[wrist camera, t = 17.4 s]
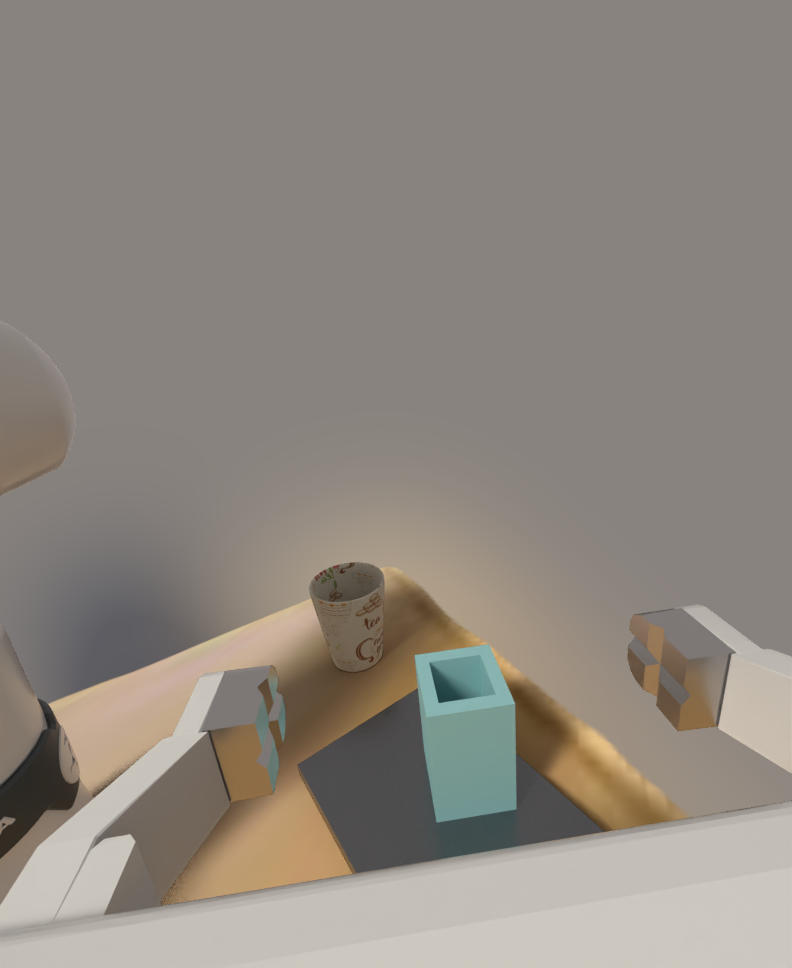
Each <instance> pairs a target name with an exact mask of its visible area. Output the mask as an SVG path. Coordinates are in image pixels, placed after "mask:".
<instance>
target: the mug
mask: <svg viewBox="0 0 792 968" xmlns="http://www.w3.org/2000/svg"><path fill="white" fill-rule="evenodd" d="M309 590H310V596H311V599H312V602H313V605H314V608H315V611H316V614H317V616H318V619H319V622H320V625H321V628H322V631H323V634H324V637H325V640H326V643H327V646H328V649H329V651H330V654H331V657H332V660H333V662H334V664H335V665H336V666H337V667H338V668H339V669H341V670H344V671H348V672H358V671H363V670H366V669H368V668H370V667H372V666H374V665H375V664H376V663H377V662H378V661H379V660H380V658H381V656H382V653H383V629H384V575H383V573H382V571H381V570H380V569H379V568H377V567H375V566H373V565H370V564H367V563H359V562H354V563H344V564H339V565H336V566H333V567H330V568H328V569H326V570H324V571H322V572H321V573H319V574H318V575H317V576H315V577H314V579H313V580H312V581H311V583H310V587H309Z"/></svg>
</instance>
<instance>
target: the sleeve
mask: <svg viewBox="0 0 792 968" xmlns="http://www.w3.org/2000/svg"><path fill="white" fill-rule="evenodd" d="M415 665H416V675H417V685H418V694H419V704H420V714H421V724H422V734H423V744H424V752H425V758H426V764H427V769H428V775H429V781H430V787H431V793H432V799H433V805H434V810H435V816H436V822H444V821H450V820H456V819H462V818H468V817H474V816H480V815H486V814H492V813H498V812H504V811H510V810H516V724H515V702H514V700H513V698H512V695H511V693H510V691H509V689H508V686H507V684H506V682H505V680H504V677H503V675H502V673H501V671H500V668H499V666H498V664H497V662H496V659H495V657H494V655H493V653H492V650H491V648H490V646H489V645H482V646H475V647H468V648H461V649H454V650H447V651H440V652H433V653H426V654H419V655H415Z"/></svg>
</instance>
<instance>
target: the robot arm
mask: <svg viewBox="0 0 792 968" xmlns="http://www.w3.org/2000/svg"><path fill="white" fill-rule="evenodd" d="M74 432H75V408H74V403H73V399H72V396H71V393H70V390H69V387H68V385H67V383H66V381H65V379H64V377H63V376H62V374H61V372H60V371H59V370H58V368H57V367H56V365H55V364H54V363H53V361H52V360H51V359H50V358H49V357H48V355H47V354H45V352H43V350H42V349H41V348H40V347H39V346H38V345H36V344H35V343H34V342H33V341H31V340H30V339H29V338H28V337H27V336H25V335H24V334H23V333H21V332H20V331H18V330H17V329H15V328H14V327H12V326H11V325H9V324H7V323H5V322H3V321H1V320H0V496H1V495H4V494H6V493H8V492H10V491H12V490H15V489H17V488H19V487H21V486H23V485H25V484H27V483H29V482H31V481H33V480H36V479H37V478H39V477H42V476H43V475H46V474H48V473H50V472H52V471H54V470H56V469H57V468H59V467H60V466H61V464H62V463H63V462H64V460H65V458H66V456H67V454H68V452H69V450H70V447H71V445H72V441H73V437H74ZM630 631H631V632H632V634H633V635H634V636H635V638H634V639H633V640H632V642H631V643H630V644H629V645H628V662H629V666H630V670H631V672H632V674H633V676H634V678H635V680H636V681H637V682H638V684H639V685H640V686H641V687H642V688H643V690H645V691H647V692H649V693H651V694H653V695H655V696H657V700H656V701H657V703H656V705H657V707H658V708H659V709H660V710H661V712H662V713H663V714H664V715H665V716H666V718H667V719H668V720H669V721H670V722H671V724H672V725H673V726H674V727H675V728H676V730H677V731H683V730H691V729H700V728H708V727H715V726H718V729H720V730H722V731H723V732H725V733H726V734H728V735H730V736H731V737H733V738H734V739H736V740H738V741H739V742H741V743H743V744H744V745H746V746H748V747H749V748H751V749H752V750H754V751H756V752H757V753H759V754H761V755H762V756H764V757H765V758H767V759H769V760H770V761H772V762H774V763H775V764H777V765H778V766H780V767H782V768H783V769H785V770H787V771H788V772H790V773H791V774H792V657H791V656H789V655H786V654H783V653H780V652H777V651H774V650H771V649H764V650H762V649H761V648H760V647H758V646H757V645H756V644H754V643H753V642H752V641H750V640H749V639H748V638H746V637H745V636H744V635H742V634H741V633H740V632H738V631H737V630H736V629H734V628H733V627H732V626H730V625H729V624H728V623H726V622H725V621H724V620H722V619H721V618H720V617H719V616H717V615H716V614H715V613H713V612H712V611H711V610H709V609H708V608H707V607H705V606H702V605H699V604H696V605H689V606H683V607H678V608H675V609H668V610H661V611H655V612H648V613H641V614H634V615H633V617H632V619H631V620H630ZM278 681H279V679H278V675H277V671H276V668H275V667H274V666H273V665H270V666H262V667H253V668H245V669H236V670H228V671H222V672H214V673H206V674H204V675H203V676H201V677H200V678H199V680H198V682H197V684H196V686H195V689H194V691H193V693H192V695H191V697H190V699H189V701H188V703H187V706H186V708H185V710H184V712H183V714H182V716H181V718H180V720H179V723H178V725H177V727H176V729H175V731H174V733H173V735H172V737H167V738H164V739H163V740H161V741H160V742H159V743H158V744H157V745H156V746H154V747H153V748H152V749H151V750H150V751H149V752H147V753H146V754H145V755H144V756H143V757H142V758H140V759H139V760H138V761H137V762H136V763H135V764H133V765H132V766H131V767H130V768H129V769H128V770H126V771H125V772H124V773H123V774H122V775H121V776H119V777H118V778H117V779H116V780H115V781H114V782H112V783H111V784H110V785H109V786H108V787H107V788H105V789H104V790H103V791H102V792H101V793H100V794H98V795H97V796H96V797H95V798H94V797H93V796H92V795H91V794H90V792H89V791H88V790H87V788H86V787H85V786H84V784H83V783H82V781H81V780H80V777H79V773H80V771H79V765H78V761H77V758H76V756H75V753H74V751H73V748H72V746H71V743H70V741H69V739H68V737H67V734H66V732H65V730H64V728H63V726H60V725H59V723H58V721H57V719H56V717H55V715H54V713H53V712H52V710H51V708H50V706H49V705H48V704H47V703H46V702H44V701H43V700H41V699H38V698H36V695H35V693H34V691H33V689H32V687H31V684H30V682H29V680H28V678H27V675H26V674H25V671H24V669H23V667H22V664H21V662H20V660H19V658H18V656H17V653H16V651H15V649H14V647H13V645H12V642H11V640H10V638H9V636H8V634H7V632H6V629H5V627H4V625H3V624H2V623H1V622H0V968H792V801H787V802H781V803H775V804H769V805H763V806H757V807H751V808H745V809H739V810H733V811H727V812H721V813H715V814H709V815H703V816H697V817H691V818H685V819H679V820H673V821H667V822H661V823H655V824H649V825H643V826H637V827H631V828H625V829H619V830H613V831H607V832H601V833H595V834H589V835H583V836H577V837H571V838H565V839H559V840H553V841H547V842H541V843H535V844H529V845H523V846H517V847H511V848H505V849H499V850H493V851H487V852H481V853H475V854H469V855H463V856H457V857H451V858H445V859H439V860H433V861H427V862H421V863H415V864H409V865H403V866H397V867H391V868H385V869H379V870H373V871H367V872H361V873H355V874H349V875H343V876H337V877H331V878H325V879H319V880H313V881H307V882H301V883H295V884H289V885H283V886H277V887H271V888H265V889H259V890H253V891H247V892H241V893H235V894H229V895H223V896H217V897H211V898H205V899H199V900H193V901H187V902H181V903H175V904H169V905H163V906H162V904H161V900H162V899H163V897H164V896H165V894H166V893H167V892H168V890H169V889H170V888H171V886H172V885H173V883H174V882H175V881H176V879H177V878H178V877H179V875H180V874H181V872H182V871H183V870H184V868H185V867H186V866H187V864H188V863H189V861H190V860H191V859H192V857H193V856H194V855H195V853H196V852H197V850H198V849H199V848H200V846H201V845H202V844H203V842H204V841H205V839H206V838H207V837H208V835H209V834H210V833H211V831H212V830H213V828H214V827H215V826H216V824H217V823H218V822H219V820H220V819H221V817H222V816H223V815H224V813H225V812H226V810H227V809H228V808H229V806H230V802H235V801H240V800H245V799H251V798H256V797H261V796H267V795H272V794H274V790H275V785H276V779H277V774H278V769H279V758H278V754H277V750H278V749H279V748H280V746H281V745H282V744H283V741H284V735H285V720H286V715H285V705H284V701H283V696H282V695H281V694H279V693H278V692H277V691H276V690H277V686H278Z"/></svg>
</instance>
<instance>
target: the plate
mask: <svg viewBox="0 0 792 968" xmlns="http://www.w3.org/2000/svg"><path fill="white" fill-rule="evenodd" d="M298 769H299V773H300V776H301V778H302V780H303V782H304V784H305V786H306V787H307V789H308V791H309V793H310V795H311V797H312V799H313V800H314V802H315V804H316V806H317V808H318V810H319V812H320V814H321V815H322V817H323V819H324V821H325V823H326V825H327V827H328V829H329V830H330V832H331V834H332V836H333V838H334V840H335V842H336V843H337V845H338V847H339V849H340V851H341V853H342V855H343V857H344V858H345V860H346V862H347V864H348V866H349V868H350V870H351V872H352V873H353V874H355V873H361V872H367V871H373V870H379V869H385V868H391V867H397V866H403V865H409V864H415V863H421V862H427V861H433V860H439V859H445V858H451V857H457V856H463V855H469V854H475V853H481V852H487V851H493V850H499V849H505V848H511V847H517V846H523V845H529V844H535V843H541V842H547V841H553V840H559V839H565V838H571V837H577V836H583V835H589V834H595V833H601V832H604V831H603V830H602V829H601V828H600V827H599V826H597V825H596V824H595V823H594V822H593V821H592V820H591V819H590V818H588V817H587V816H586V815H585V814H584V813H583V812H582V811H581V810H579V809H578V808H577V807H576V806H575V805H574V804H573V803H572V802H570V801H569V800H568V799H567V798H566V797H565V796H564V795H563V794H561V793H560V792H559V791H558V790H557V789H556V788H555V787H554V786H552V785H551V784H550V783H549V782H548V781H547V780H546V779H544V778H543V777H542V776H541V775H540V774H539V773H538V772H537V771H535V770H534V769H533V768H532V767H531V766H530V765H529V764H528V763H526V762H525V761H524V760H523V759H522V758H521V757H520V756H519V755H517V754H516V810H510V811H504V812H498V813H492V814H486V815H480V816H474V817H468V818H462V819H456V820H450V821H444V822H436V816H435V810H434V805H433V799H432V793H431V787H430V781H429V775H428V769H427V764H426V758H425V752H424V744H423V734H422V724H421V714H420V704H419V694H418V688H417V689H416V690H414V691H413V692H411V693H409V694H408V695H406V696H405V697H403V698H402V699H400V700H398V701H397V702H395V703H394V704H392V705H391V706H389V707H388V708H386V709H384V710H383V711H381V712H380V713H378V714H377V715H375V716H373V717H372V718H370V719H369V720H367V721H366V722H364V723H362V724H361V725H359V726H358V727H356V728H355V729H353V730H351V731H350V732H348V733H347V734H345V735H344V736H342V737H340V738H339V739H337V740H336V741H334V742H333V743H331V744H329V745H328V746H326V747H325V748H323V749H322V750H320V751H318V752H317V753H315V754H314V755H312V756H311V757H309V758H307V759H306V760H304V761H303V762H301V763H300V764H298Z"/></svg>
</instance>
